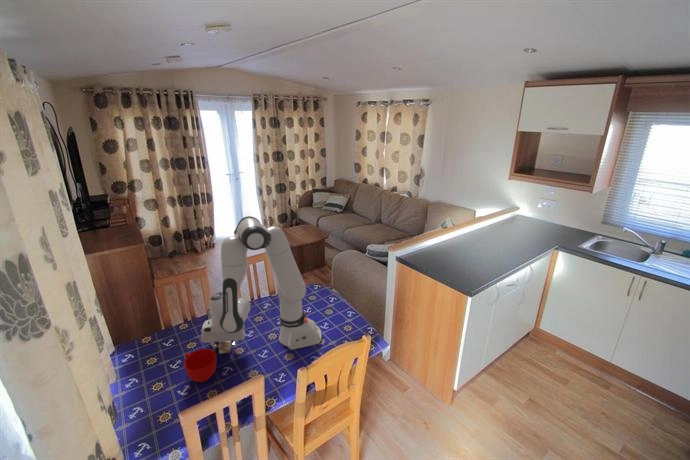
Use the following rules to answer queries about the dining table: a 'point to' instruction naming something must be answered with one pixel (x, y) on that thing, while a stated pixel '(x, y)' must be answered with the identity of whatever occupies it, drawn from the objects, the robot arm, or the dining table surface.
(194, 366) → the ceramic cup
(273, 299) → the dining table surface
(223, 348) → the maple cube
